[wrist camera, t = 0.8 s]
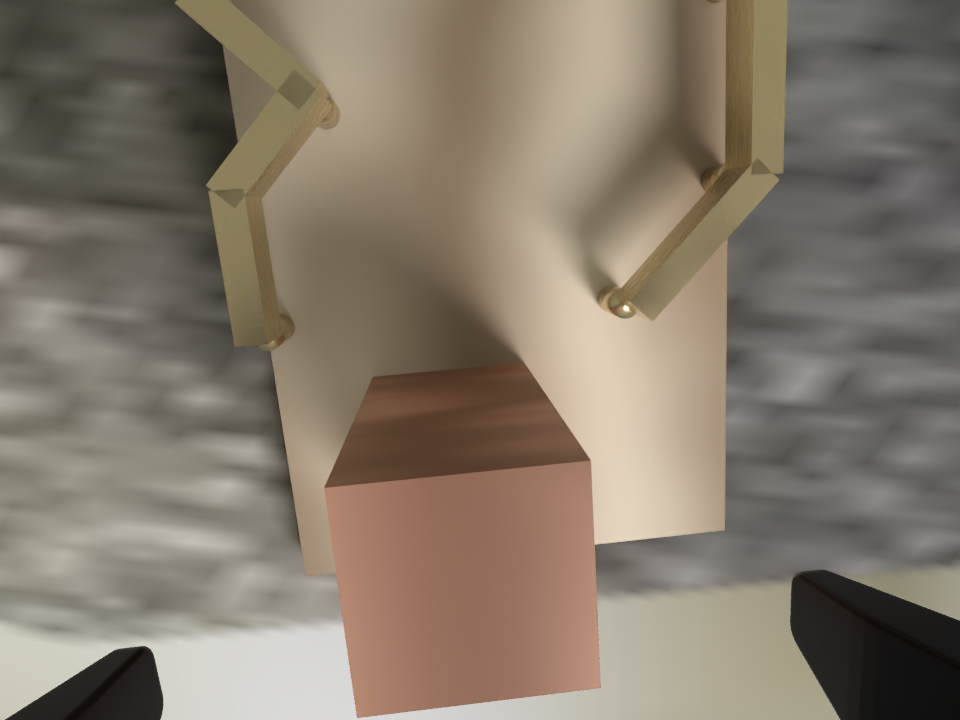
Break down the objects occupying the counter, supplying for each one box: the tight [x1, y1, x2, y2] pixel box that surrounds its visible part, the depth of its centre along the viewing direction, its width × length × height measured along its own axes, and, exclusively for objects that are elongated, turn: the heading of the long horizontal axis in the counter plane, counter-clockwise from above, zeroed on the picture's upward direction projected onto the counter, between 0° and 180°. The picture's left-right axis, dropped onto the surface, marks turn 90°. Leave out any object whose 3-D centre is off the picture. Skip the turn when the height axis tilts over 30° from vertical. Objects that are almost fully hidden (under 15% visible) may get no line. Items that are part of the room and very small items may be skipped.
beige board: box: [223, 0, 727, 576], centre depth 15 cm, size 12×24×1 cm, turn 5°
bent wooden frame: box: [175, 0, 788, 351], centre depth 13 cm, size 12×11×2 cm
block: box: [324, 363, 601, 718], centre depth 13 cm, size 4×4×7 cm
